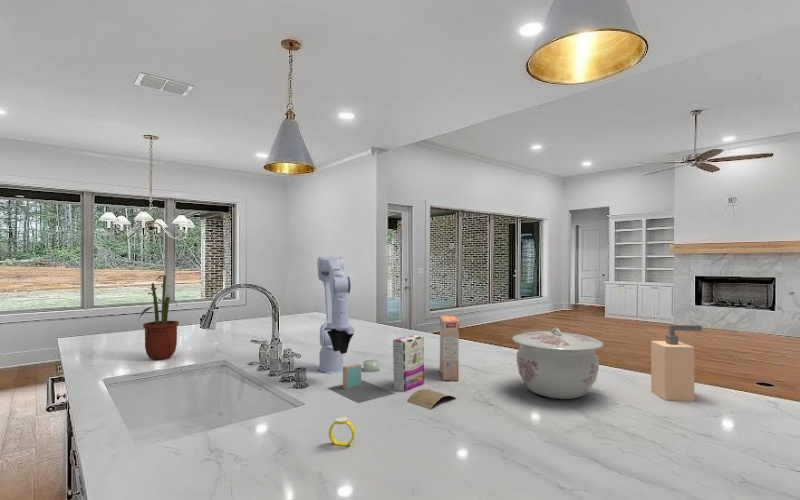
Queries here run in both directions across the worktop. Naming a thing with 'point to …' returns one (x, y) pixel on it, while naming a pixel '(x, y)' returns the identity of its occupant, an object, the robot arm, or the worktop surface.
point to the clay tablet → (425, 398)
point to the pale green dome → (371, 366)
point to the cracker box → (449, 348)
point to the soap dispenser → (673, 366)
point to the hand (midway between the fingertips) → (340, 352)
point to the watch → (341, 421)
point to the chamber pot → (557, 363)
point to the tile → (352, 376)
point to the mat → (362, 392)
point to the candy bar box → (408, 362)
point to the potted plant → (160, 329)
